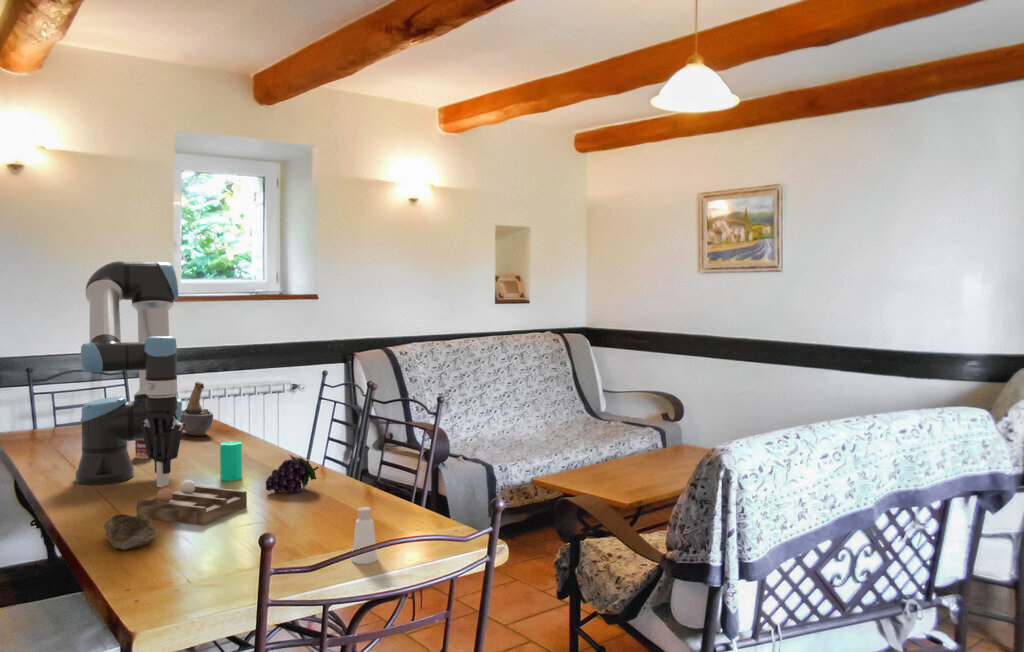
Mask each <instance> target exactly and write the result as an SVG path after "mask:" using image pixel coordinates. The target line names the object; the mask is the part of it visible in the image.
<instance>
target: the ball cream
mask: <svg viewBox="0 0 1024 652" xmlns="http://www.w3.org/2000/svg"><path fill="white" fill-rule="evenodd" d="M195 485H196V484H195V482H194V481H193V480H190V479H187V480H184V481H183V482H182V483H181V484H180V488H179V490H181V492H182V493H184V494H191V493H193V492H194V490H195Z"/></svg>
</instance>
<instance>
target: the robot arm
mask: <svg viewBox="0 0 1024 652" xmlns="http://www.w3.org/2000/svg"><path fill="white" fill-rule="evenodd" d="M85 298H86V300H87V301H88V302H89V343H83V344H82V345H81V346H80V365H81V369H82V371H83V372H86V373H87V372H89V373H90V372H91V373H92V372H93V373H94V372H96V373H102V372H103V373H104V372H105V373H106V372H123V371H138V373H139V374H138V378H139V379H138V380H139V381H138V383H139V389H138V390H137V392H135V393H134V394H133V399H134V400H133V401H129V400H128V399H127V398H126V396H112V397H105V398H100V399H95V400H91V401H88V402H87V403H85V404H83V406H82V408H81V416H80V422H81V456H80V460H79V463H78V468H77V470H76V472H75V482H76V483H78V484H81V485H106V484H112V483H119V482H124V481H126V480H129V479H132V478H133V477H134V476H135V468H134V466H133V465H132V461H131V458H130V455H129V452H128V444H127V443H128V442H131V441H132V442H133V441H135V440H144V441H145V446H146V451H147V455H148V458H147V459H152V460H153V462H154V471H155V474H156V487H160V488H164V487H166V486H168V485H170V473H171V471H172V470H171V467H172V466H171V461H172V460H174V459H178V455H179V450H180V445H181V440H182V433H183V430H184V427H185V424H184V423H180V420H181V411H182V410H183V409H182V408H183V405H182V404H183V400H182V398H179V397H178V396H177V394H178V375H177V373H178V372H177V371H178V369H177V367H178V363H177V362H178V360H177V359H178V357H177V355H178V354H177V353H178V346H177V339H176V338H175V337H174V336H170V322H169V321H170V319H169V318H170V317H169V316H170V315H169V310H171V309H172V307H173V306H174V301H176V300H178V299H179V285H178V279H177V275H176V270H175V267H174V266H173V265H172V264H171V263H169V262H161V261H121V260H120V261H112V262H110V263H107V264H105V265H103V266H101V267H100V268H98V269H97V270H95V271H94V273H92V274H91V276H90V277H89V279H88V281H87V283H86V285H85ZM123 300H124V301H125V300H126V301H131V307H132V308H134V309H135V310H136V311H137V312H136V313H137V337H138V338H137V340H138V341H136V342H133V341H131V342H129V341H127V342H122V337H121V334H122V333H121V313H120V312H121V311H120V302H121V301H123ZM152 452H153V453H152Z"/></svg>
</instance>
